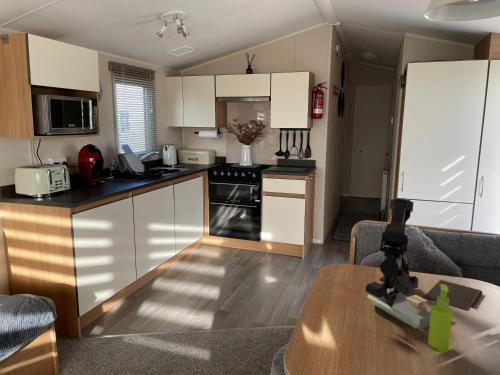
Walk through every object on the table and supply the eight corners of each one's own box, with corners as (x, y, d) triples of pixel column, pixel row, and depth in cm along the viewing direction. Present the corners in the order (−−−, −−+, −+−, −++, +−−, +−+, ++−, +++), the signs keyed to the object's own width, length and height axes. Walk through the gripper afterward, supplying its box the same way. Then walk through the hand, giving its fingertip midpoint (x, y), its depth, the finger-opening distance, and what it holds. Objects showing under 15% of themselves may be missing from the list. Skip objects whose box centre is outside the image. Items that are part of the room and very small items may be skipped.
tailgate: (377, 304, 141) (368, 294, 138) (417, 327, 126) (409, 316, 123) (375, 306, 141) (367, 296, 138) (416, 330, 126) (407, 319, 122)
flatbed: (400, 299, 149) (401, 288, 148) (447, 323, 131) (448, 311, 131) (376, 306, 143) (376, 295, 142) (421, 332, 125) (422, 320, 125)
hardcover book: (422, 302, 148) (423, 296, 148) (440, 284, 165) (440, 279, 164) (468, 316, 137) (469, 310, 137) (482, 295, 154) (482, 290, 154)
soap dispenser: (446, 343, 119) (452, 284, 116) (449, 355, 113) (457, 293, 110) (425, 339, 121) (431, 281, 118) (428, 351, 115) (434, 290, 111)
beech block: (414, 304, 141) (415, 294, 141) (426, 310, 137) (427, 300, 136) (405, 307, 139) (406, 297, 138) (416, 313, 135) (417, 303, 134)
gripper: (391, 279, 117) (389, 325, 120) (431, 267, 126) (428, 311, 128) (365, 267, 127) (363, 310, 130) (403, 257, 135) (401, 297, 138)
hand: (390, 307), depth 131 cm, fingers closed, pressing on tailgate
